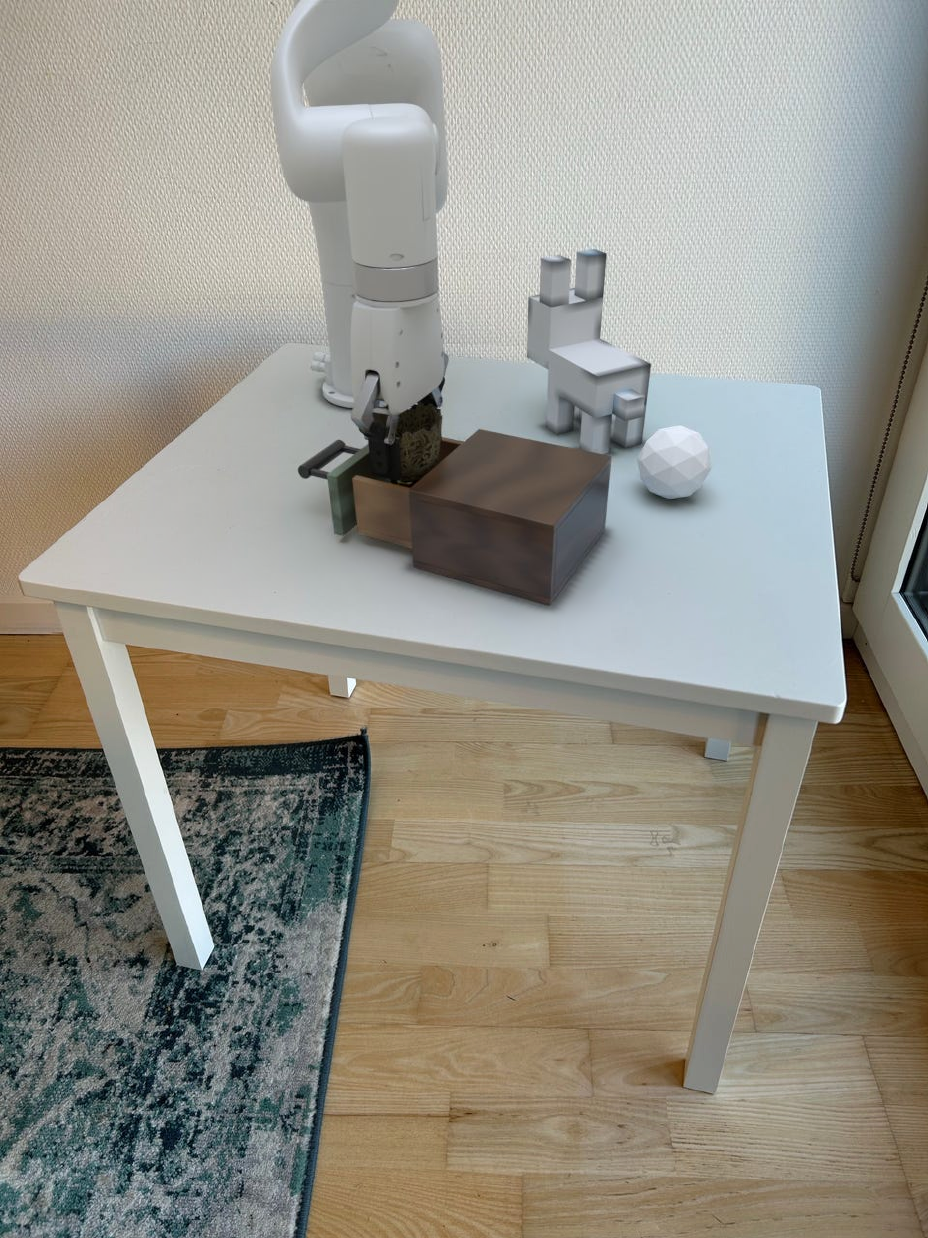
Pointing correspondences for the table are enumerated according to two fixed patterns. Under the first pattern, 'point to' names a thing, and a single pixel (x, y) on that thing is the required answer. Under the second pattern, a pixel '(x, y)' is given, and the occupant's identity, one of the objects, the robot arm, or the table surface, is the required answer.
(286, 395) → the table surface
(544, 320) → the toy llama
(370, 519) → the drawer
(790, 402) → the table surface
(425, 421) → the cup
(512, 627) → the table surface
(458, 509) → the cabinet
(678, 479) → the geometric ball
